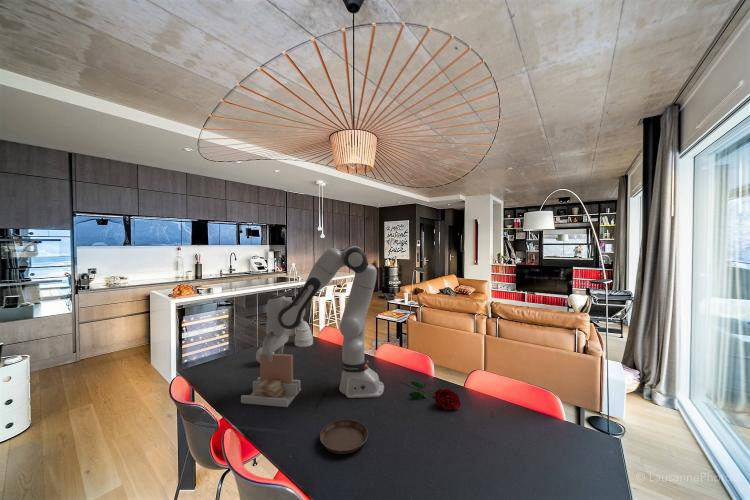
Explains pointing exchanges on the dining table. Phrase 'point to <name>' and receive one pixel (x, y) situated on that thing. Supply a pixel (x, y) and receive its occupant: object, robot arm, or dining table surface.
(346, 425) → the plant saucer
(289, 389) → the rack
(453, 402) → the flower
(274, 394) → the offcut middle
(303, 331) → the honey pot
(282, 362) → the brown square panel
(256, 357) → the ornament
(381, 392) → the robot arm
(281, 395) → the offcut bottom
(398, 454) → the dining table surface
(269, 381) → the offcut top
